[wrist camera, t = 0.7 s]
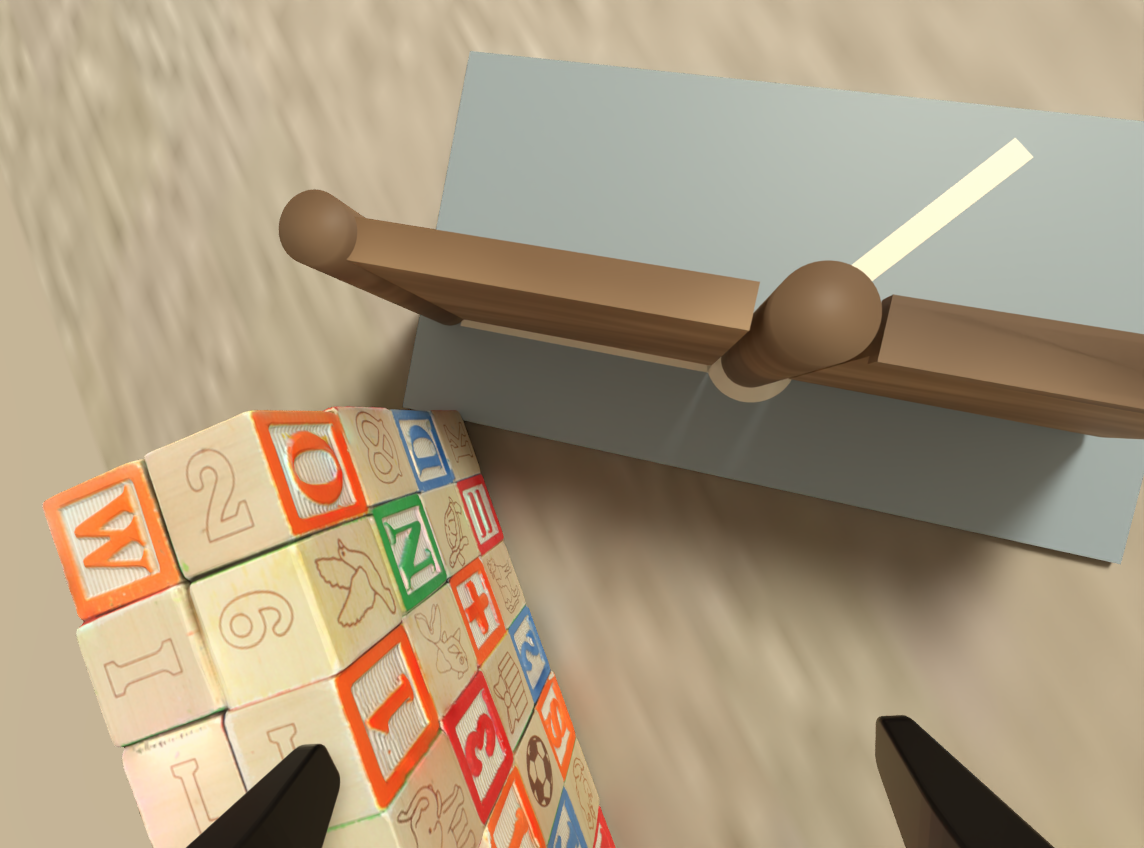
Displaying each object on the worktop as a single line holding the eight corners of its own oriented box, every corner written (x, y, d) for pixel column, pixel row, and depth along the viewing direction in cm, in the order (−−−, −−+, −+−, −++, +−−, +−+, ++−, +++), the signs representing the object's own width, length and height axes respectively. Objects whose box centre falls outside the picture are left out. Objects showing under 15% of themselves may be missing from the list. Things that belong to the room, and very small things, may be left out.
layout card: (1113, 561, 20) (1121, 564, 19) (405, 407, 24) (402, 407, 24) (1223, 135, 19) (1233, 130, 19) (472, 55, 23) (469, 50, 23)
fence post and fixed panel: (775, 392, 21) (868, 374, 12) (424, 325, 24) (271, 265, 14) (788, 334, 21) (893, 269, 12) (434, 272, 24) (287, 177, 14)
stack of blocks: (630, 867, 23) (595, 1394, 11) (499, 897, 24) (333, 1408, 12) (458, 406, 23) (242, 403, 11) (339, 454, 24) (23, 500, 12)
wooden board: (1099, 442, 19) (1448, 463, 11) (787, 384, 21) (877, 361, 12) (1110, 399, 19) (1470, 386, 11) (796, 343, 21) (893, 294, 12)
